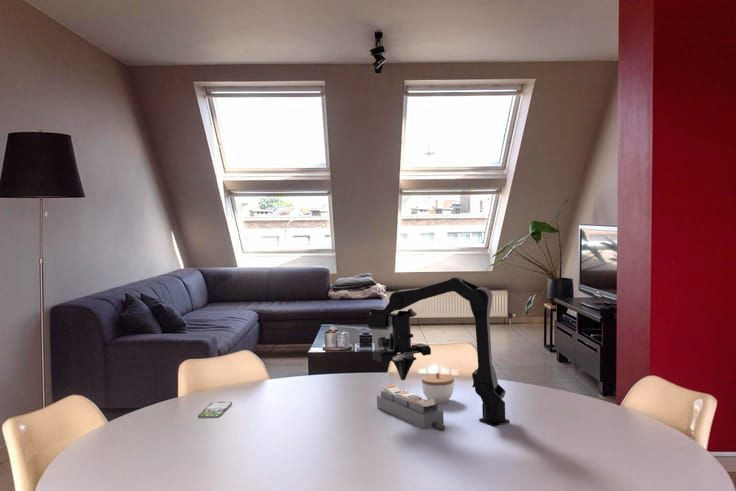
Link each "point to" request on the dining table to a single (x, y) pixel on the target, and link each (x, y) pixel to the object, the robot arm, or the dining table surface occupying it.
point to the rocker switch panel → (411, 411)
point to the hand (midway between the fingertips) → (402, 379)
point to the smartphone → (215, 410)
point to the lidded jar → (438, 387)
